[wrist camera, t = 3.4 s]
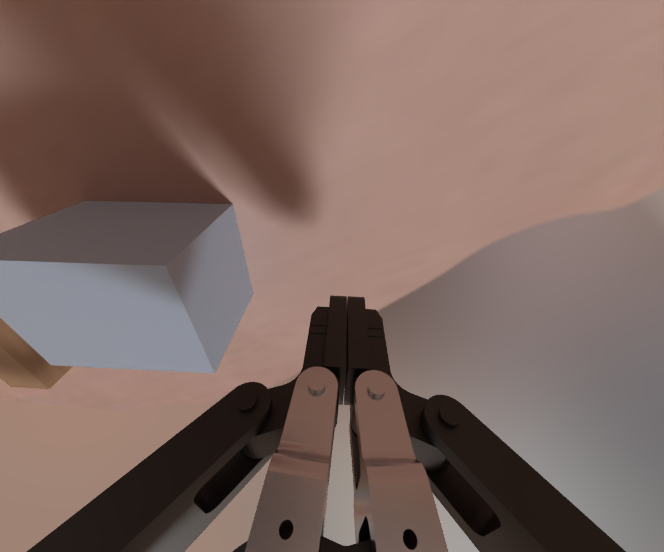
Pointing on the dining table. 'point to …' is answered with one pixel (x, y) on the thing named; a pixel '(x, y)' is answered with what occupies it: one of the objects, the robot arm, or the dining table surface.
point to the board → (25, 363)
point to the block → (127, 284)
